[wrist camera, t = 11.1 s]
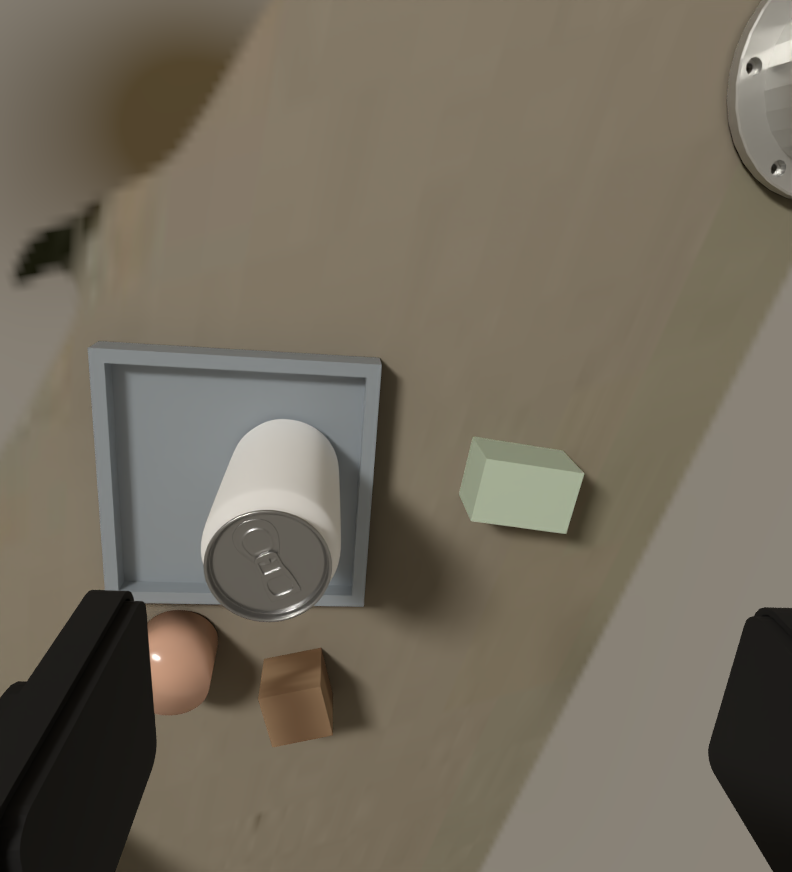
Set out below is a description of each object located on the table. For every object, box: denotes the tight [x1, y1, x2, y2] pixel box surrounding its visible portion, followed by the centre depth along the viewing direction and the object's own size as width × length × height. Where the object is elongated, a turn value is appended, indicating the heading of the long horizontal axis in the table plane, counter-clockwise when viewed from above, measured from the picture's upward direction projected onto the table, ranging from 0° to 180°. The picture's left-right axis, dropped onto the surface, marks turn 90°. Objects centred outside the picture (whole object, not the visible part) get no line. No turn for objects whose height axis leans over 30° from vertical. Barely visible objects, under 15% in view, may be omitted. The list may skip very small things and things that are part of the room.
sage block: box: [459, 437, 584, 534], centre depth 41 cm, size 6×4×4 cm, turn 79°
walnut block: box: [258, 648, 333, 747], centre depth 45 cm, size 4×4×4 cm
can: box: [201, 419, 341, 622], centre depth 35 cm, size 6×6×12 cm
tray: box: [88, 341, 382, 607], centre depth 40 cm, size 16×16×2 cm
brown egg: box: [147, 610, 218, 715], centre depth 43 cm, size 5×5×4 cm
